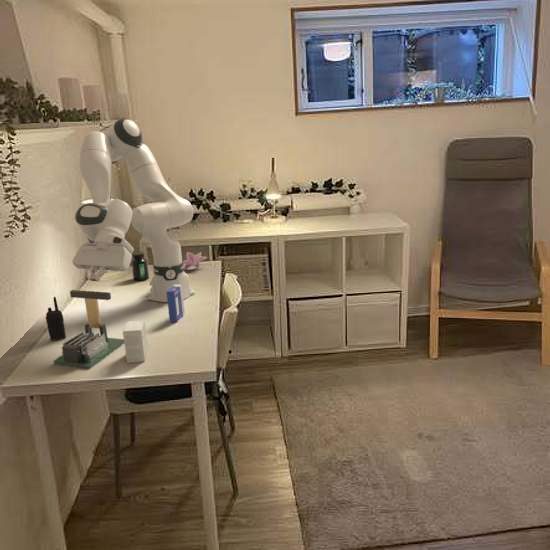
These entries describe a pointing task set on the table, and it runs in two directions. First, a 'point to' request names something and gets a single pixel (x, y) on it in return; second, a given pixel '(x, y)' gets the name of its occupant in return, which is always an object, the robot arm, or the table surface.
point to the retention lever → (92, 304)
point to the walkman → (175, 303)
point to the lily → (193, 260)
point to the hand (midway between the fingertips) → (93, 280)
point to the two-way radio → (55, 323)
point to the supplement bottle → (139, 267)
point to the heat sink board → (88, 348)
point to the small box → (135, 341)
